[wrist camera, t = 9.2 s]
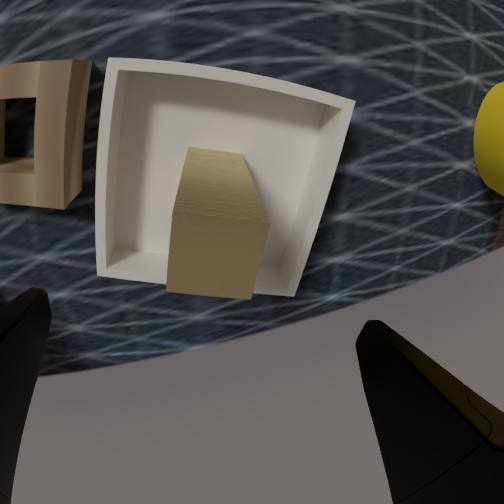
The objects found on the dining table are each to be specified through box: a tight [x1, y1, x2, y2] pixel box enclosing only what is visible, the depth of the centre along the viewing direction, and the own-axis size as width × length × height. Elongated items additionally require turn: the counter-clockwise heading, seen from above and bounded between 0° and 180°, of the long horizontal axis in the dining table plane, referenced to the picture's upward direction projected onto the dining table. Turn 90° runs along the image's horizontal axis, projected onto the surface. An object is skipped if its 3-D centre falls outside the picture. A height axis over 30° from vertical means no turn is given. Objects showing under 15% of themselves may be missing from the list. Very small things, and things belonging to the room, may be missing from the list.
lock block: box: [0, 60, 93, 209], centre depth 14 cm, size 8×8×3 cm
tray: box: [95, 58, 355, 297], centre depth 17 cm, size 12×12×3 cm
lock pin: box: [166, 146, 270, 300], centre depth 14 cm, size 3×3×9 cm
